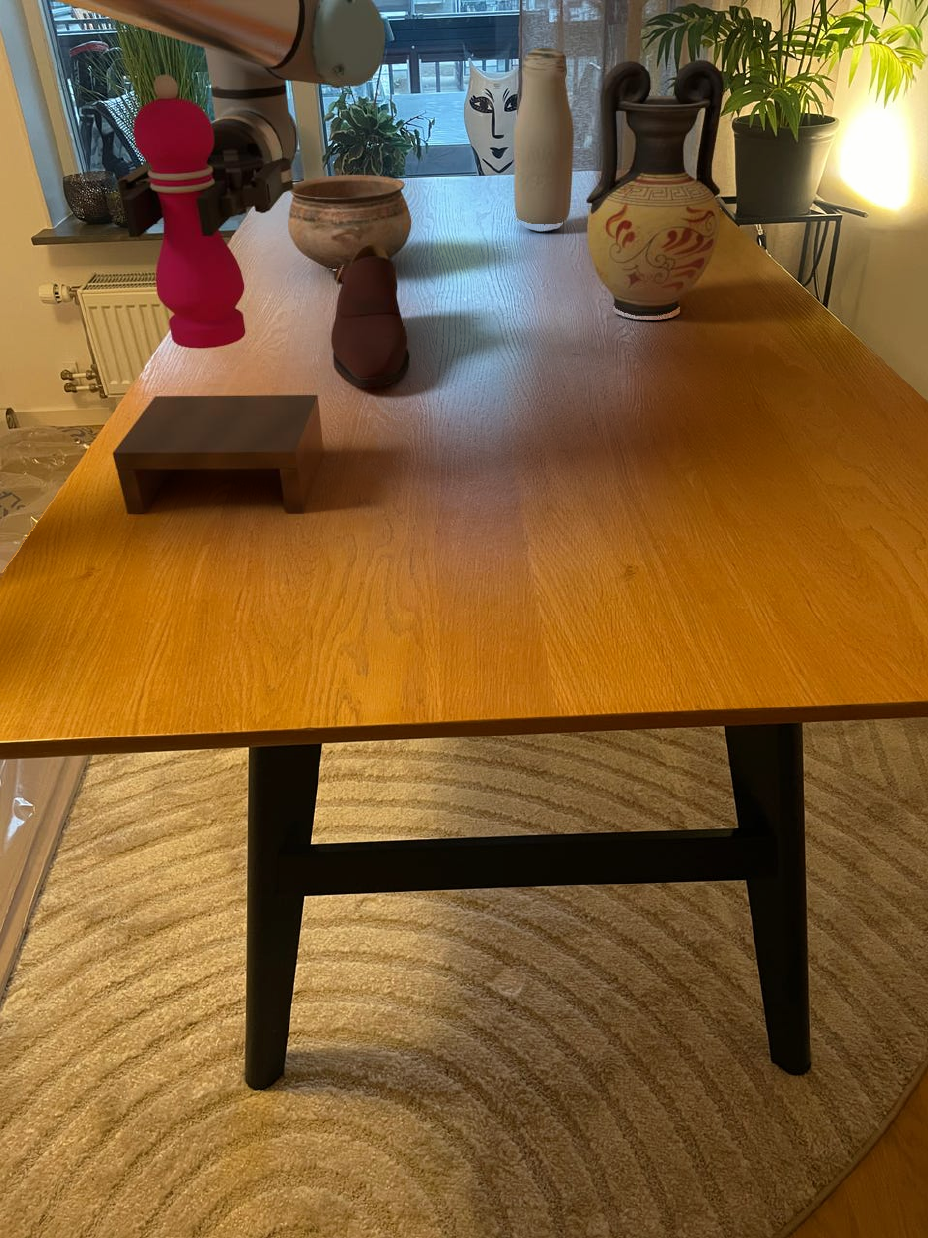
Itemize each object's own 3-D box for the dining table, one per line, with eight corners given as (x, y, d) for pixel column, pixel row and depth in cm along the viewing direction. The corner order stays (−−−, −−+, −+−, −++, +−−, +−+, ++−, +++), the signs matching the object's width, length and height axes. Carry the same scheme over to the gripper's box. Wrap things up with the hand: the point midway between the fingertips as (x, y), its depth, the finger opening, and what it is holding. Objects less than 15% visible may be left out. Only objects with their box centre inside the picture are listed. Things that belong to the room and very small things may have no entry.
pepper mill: (162, 354, 81) (107, 81, 70) (170, 326, 87) (120, 71, 75) (250, 347, 82) (209, 77, 70) (252, 320, 88) (215, 67, 76)
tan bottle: (573, 224, 175) (580, 44, 159) (564, 238, 167) (572, 50, 151) (519, 222, 177) (521, 45, 161) (508, 236, 169) (509, 50, 153)
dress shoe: (331, 401, 109) (320, 296, 102) (336, 322, 132) (328, 232, 125) (413, 397, 109) (408, 292, 103) (404, 319, 132) (399, 229, 125)
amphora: (675, 288, 142) (699, 51, 125) (733, 322, 129) (770, 62, 111) (562, 300, 138) (572, 57, 121) (611, 337, 125) (629, 70, 107)
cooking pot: (414, 289, 144) (410, 201, 137) (286, 294, 143) (275, 205, 136) (411, 247, 164) (408, 168, 157) (299, 250, 163) (291, 172, 156)
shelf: (127, 513, 88) (112, 452, 84) (167, 452, 98) (155, 395, 95) (303, 513, 87) (295, 451, 84) (323, 451, 98) (317, 394, 94)
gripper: (332, 201, 95) (291, 266, 75) (150, 204, 95) (63, 269, 76) (324, 115, 90) (278, 161, 71) (133, 119, 91) (37, 166, 72)
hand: (167, 217), depth 74 cm, fingers closed on pepper mill, 5 cm apart
